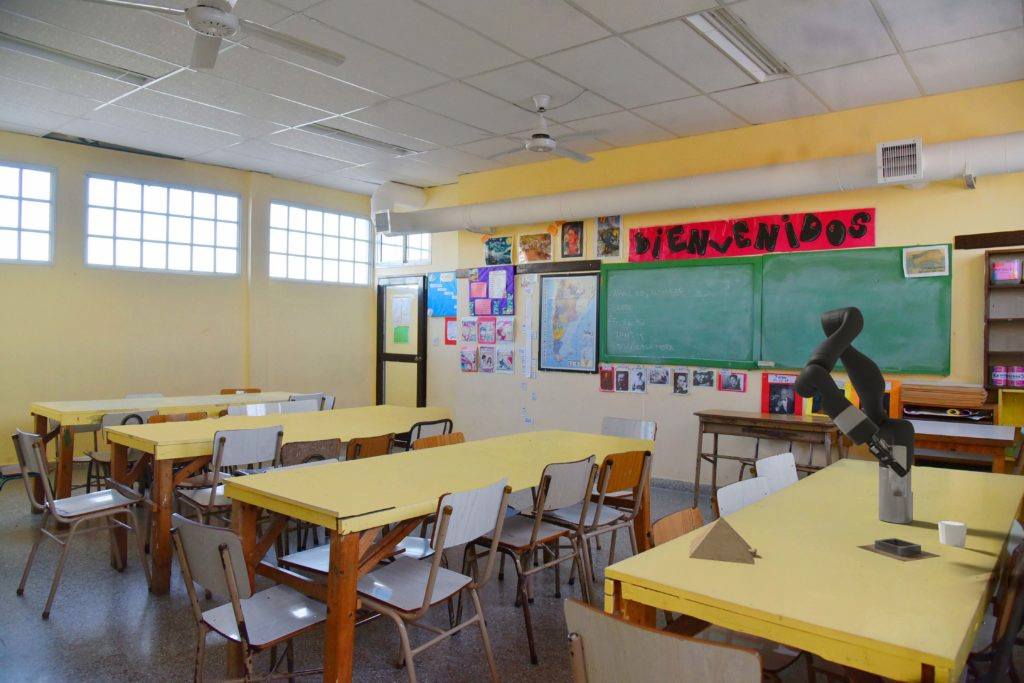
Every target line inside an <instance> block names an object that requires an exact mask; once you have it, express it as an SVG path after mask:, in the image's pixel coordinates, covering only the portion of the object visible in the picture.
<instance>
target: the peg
mask: <svg viewBox="0 0 1024 683" xmlns="http://www.w3.org/2000/svg"><path fill="white" fill-rule="evenodd" d="M889 450H890V451H891V453H892V454H891V455H892V456H893V457H894V458H895V459H896V461H897V462H898V463H899V464H900V465H901V466H902V467H903V468H904V469H905V470H906V447H905V446H896V445H890V446H889ZM889 495H891V496H897V497H906V475H905V476H904V477H902V478H901V477H900V476H899V475H898V474H897V473H896V472H895V471H894V470H893V469H892V468H891V466H890V467H889Z"/></svg>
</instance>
